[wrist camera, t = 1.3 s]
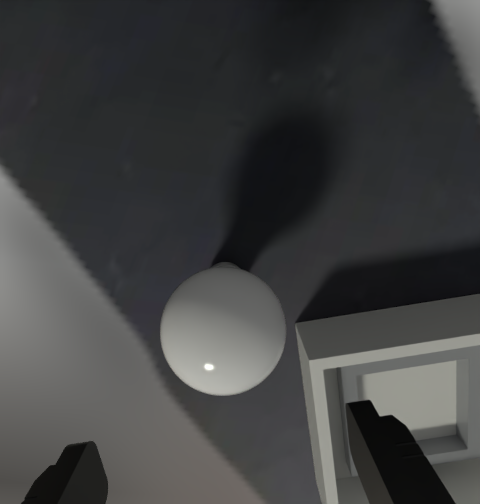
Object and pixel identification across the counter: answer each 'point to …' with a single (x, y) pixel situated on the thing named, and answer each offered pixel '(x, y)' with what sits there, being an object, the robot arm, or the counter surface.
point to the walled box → (396, 389)
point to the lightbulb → (223, 330)
